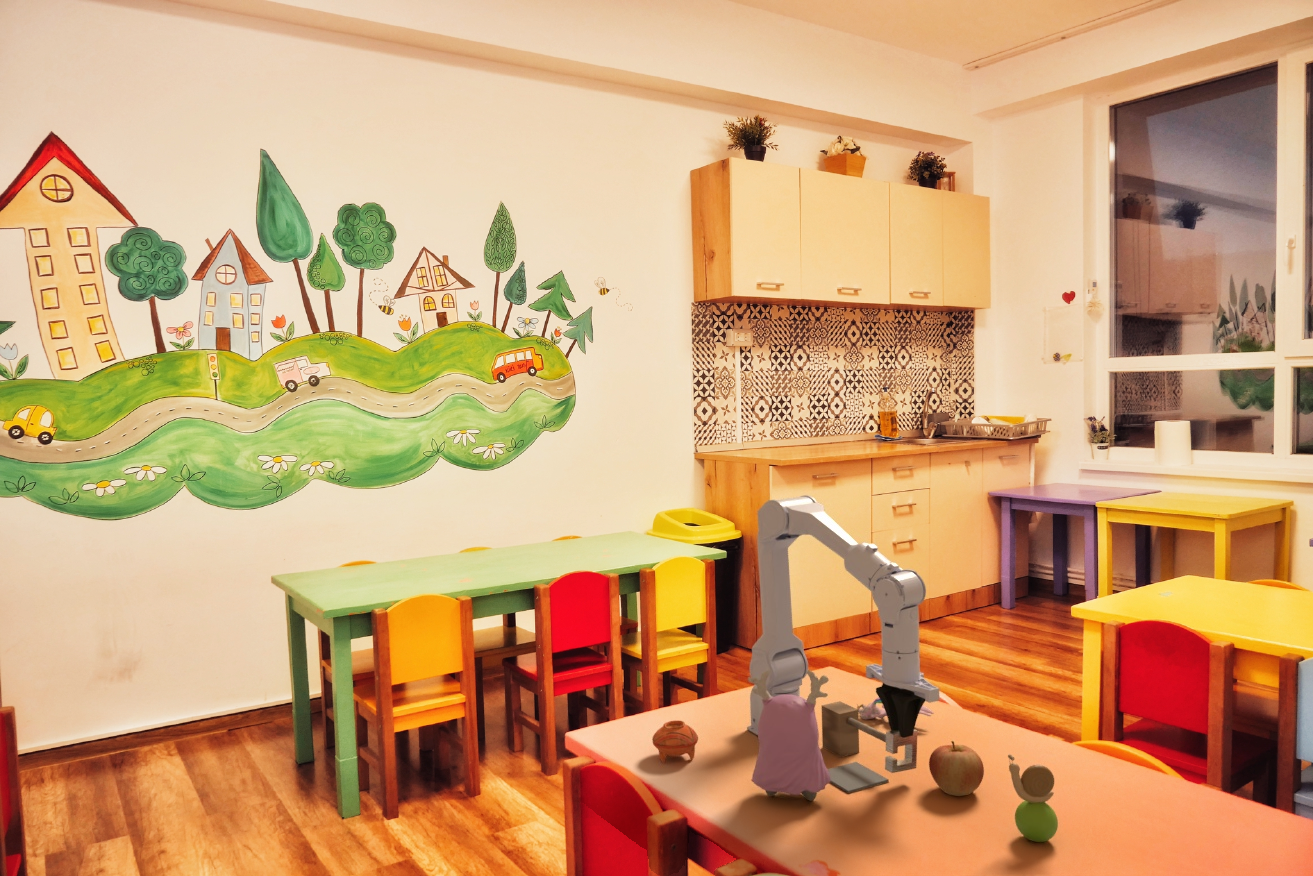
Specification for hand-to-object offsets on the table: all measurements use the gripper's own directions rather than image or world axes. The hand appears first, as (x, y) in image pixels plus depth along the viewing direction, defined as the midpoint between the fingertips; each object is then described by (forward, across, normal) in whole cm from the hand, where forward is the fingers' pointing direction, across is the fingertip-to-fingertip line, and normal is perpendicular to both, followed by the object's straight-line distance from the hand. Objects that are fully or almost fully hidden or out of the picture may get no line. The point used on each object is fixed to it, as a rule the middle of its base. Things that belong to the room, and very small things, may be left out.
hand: (902, 733), depth 140 cm
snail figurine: (+8, -22, -3) cm, 24 cm away
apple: (+8, -6, -5) cm, 12 cm away
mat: (+8, +6, +6) cm, 11 cm away
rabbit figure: (+8, +21, -16) cm, 28 cm away
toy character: (+8, +5, +18) cm, 20 cm away
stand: (+8, +10, 0) cm, 13 cm away
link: (+6, 0, 0) cm, 6 cm away
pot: (+8, +28, +26) cm, 39 cm away
